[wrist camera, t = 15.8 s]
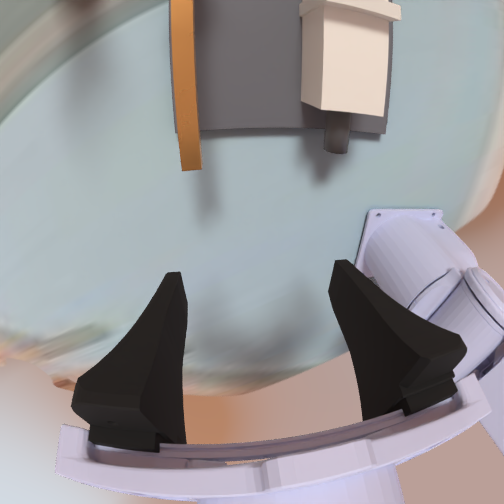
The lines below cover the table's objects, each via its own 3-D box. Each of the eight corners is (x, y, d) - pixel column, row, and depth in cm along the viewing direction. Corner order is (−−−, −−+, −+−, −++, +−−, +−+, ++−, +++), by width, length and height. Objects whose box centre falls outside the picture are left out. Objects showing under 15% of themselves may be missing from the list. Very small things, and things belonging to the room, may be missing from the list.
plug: (356, -53, 9) (391, -74, 5) (352, 143, 19) (387, 168, 15) (297, -66, 8) (319, -96, 4) (296, 141, 19) (319, 165, 14)
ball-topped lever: (215, 162, 14) (215, 169, 14) (171, 166, 14) (168, 174, 13) (210, -83, 5) (209, -91, 4) (163, -77, 5) (159, -85, 4)
